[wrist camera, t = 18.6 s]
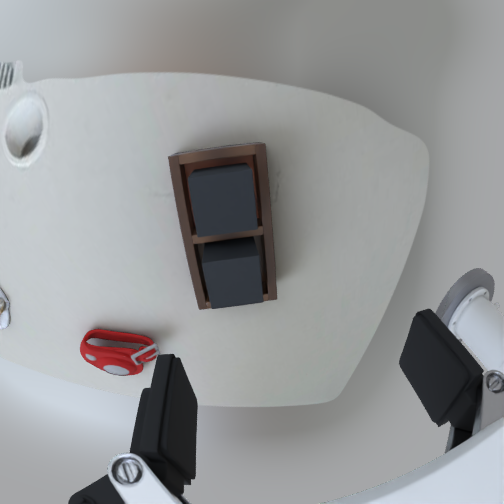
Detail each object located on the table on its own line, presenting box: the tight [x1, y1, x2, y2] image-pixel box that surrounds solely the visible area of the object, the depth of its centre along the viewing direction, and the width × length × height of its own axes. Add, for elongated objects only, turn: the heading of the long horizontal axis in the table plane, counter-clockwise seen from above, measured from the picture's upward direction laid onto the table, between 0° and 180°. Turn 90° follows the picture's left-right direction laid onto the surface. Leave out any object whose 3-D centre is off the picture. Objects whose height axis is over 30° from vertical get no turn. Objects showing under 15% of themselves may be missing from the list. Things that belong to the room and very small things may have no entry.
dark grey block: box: [188, 163, 258, 237], centre depth 24 cm, size 5×5×5 cm
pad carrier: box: [168, 142, 277, 310], centre depth 27 cm, size 8×16×3 cm, turn 6°
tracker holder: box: [80, 329, 160, 376], centre depth 32 cm, size 12×4×10 cm
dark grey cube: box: [202, 236, 264, 309], centre depth 27 cm, size 5×5×5 cm
